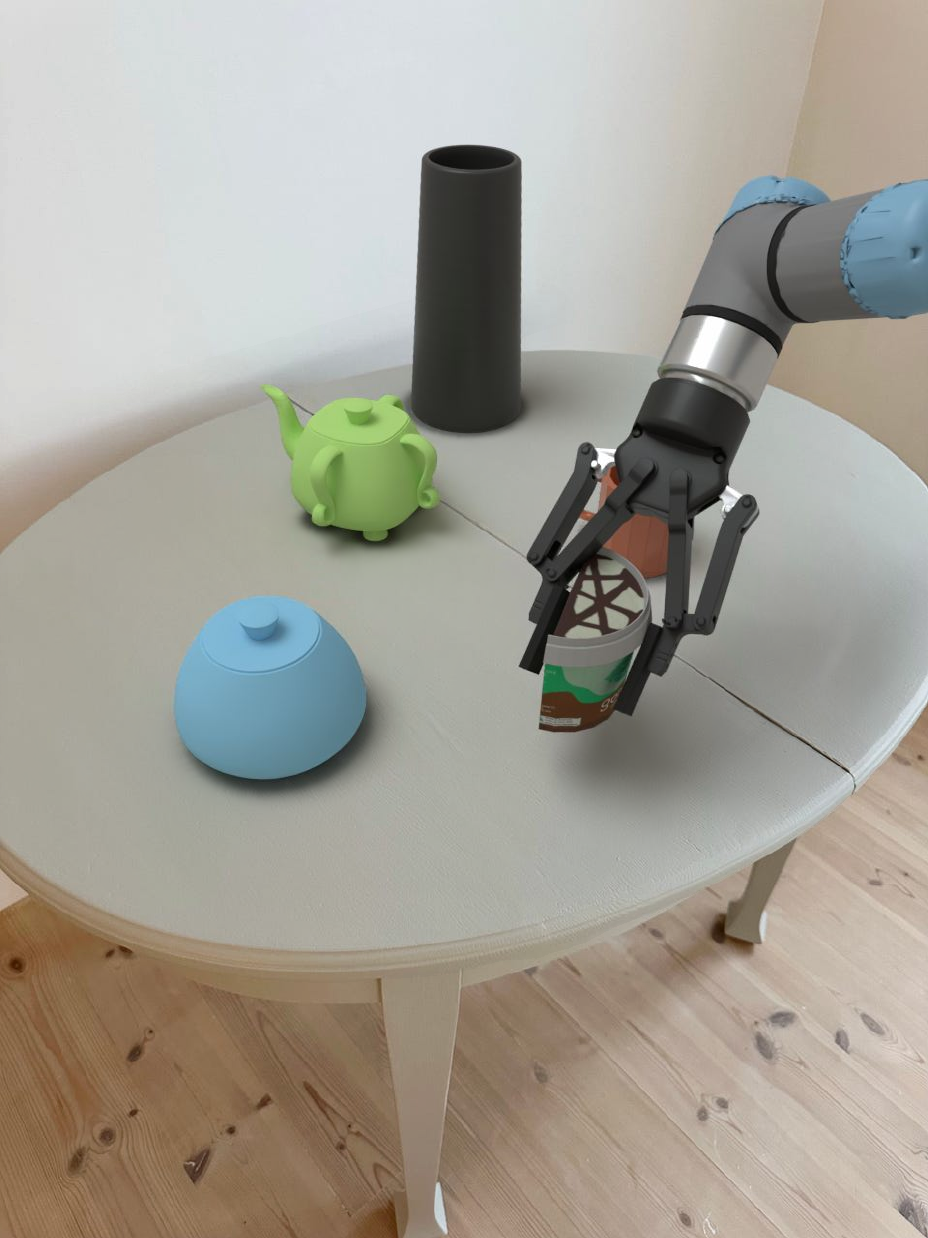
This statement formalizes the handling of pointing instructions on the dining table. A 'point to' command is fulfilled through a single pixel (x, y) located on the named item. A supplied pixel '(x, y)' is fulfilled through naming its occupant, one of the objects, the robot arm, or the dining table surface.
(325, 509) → the teapot
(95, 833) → the dining table surface
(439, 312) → the vase
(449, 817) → the dining table surface
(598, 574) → the food container
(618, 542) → the mug
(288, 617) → the sugar bowl
